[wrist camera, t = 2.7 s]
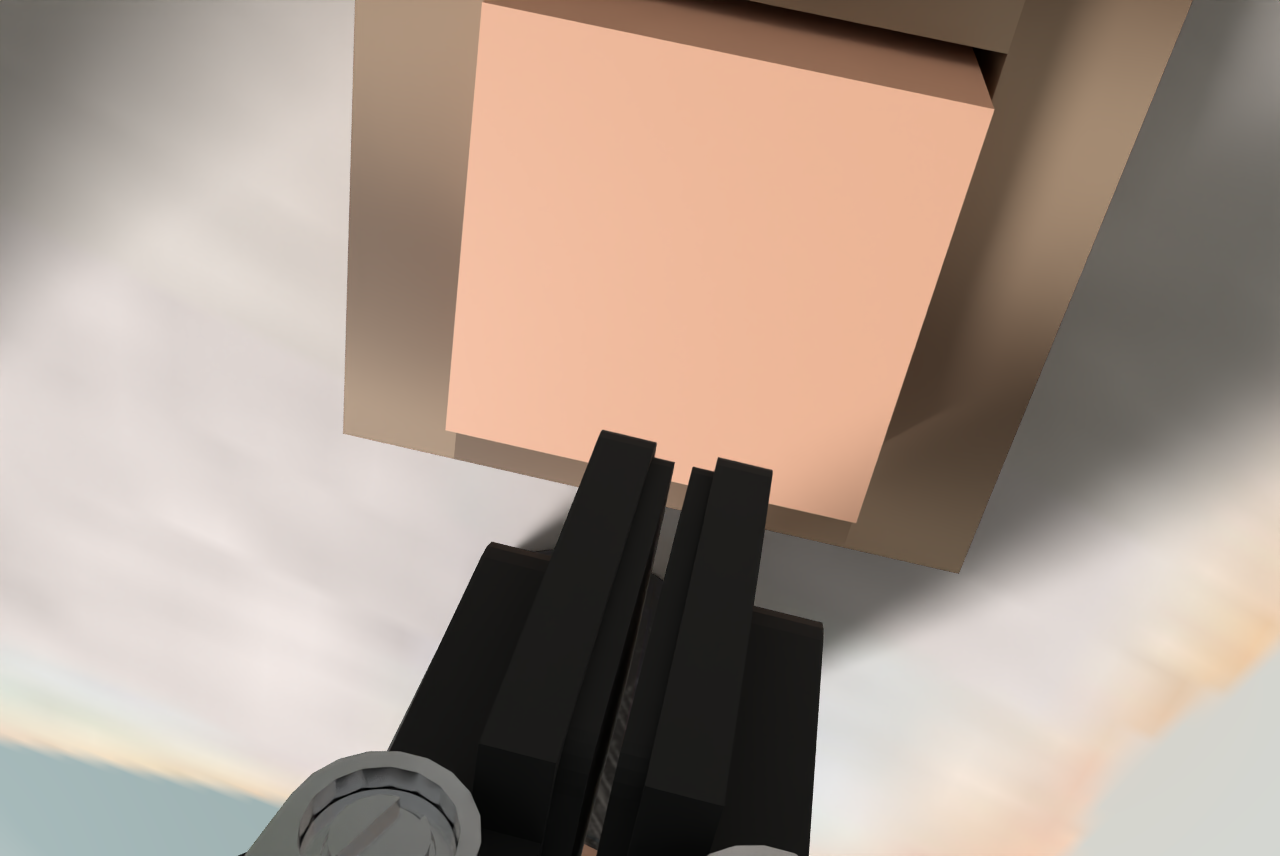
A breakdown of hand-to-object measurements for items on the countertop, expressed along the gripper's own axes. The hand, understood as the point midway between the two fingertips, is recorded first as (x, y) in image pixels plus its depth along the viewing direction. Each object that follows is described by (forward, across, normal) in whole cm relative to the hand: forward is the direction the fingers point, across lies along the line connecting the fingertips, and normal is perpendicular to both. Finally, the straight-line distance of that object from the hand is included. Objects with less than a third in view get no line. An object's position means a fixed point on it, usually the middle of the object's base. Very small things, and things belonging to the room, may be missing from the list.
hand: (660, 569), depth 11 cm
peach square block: (+12, +1, 0) cm, 12 cm away
